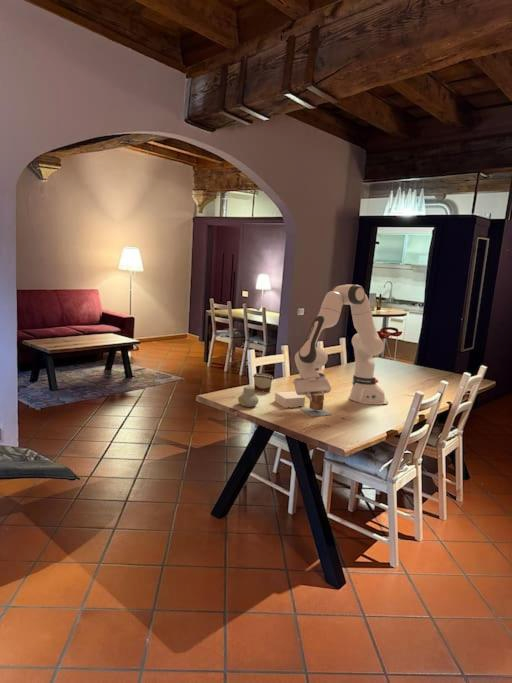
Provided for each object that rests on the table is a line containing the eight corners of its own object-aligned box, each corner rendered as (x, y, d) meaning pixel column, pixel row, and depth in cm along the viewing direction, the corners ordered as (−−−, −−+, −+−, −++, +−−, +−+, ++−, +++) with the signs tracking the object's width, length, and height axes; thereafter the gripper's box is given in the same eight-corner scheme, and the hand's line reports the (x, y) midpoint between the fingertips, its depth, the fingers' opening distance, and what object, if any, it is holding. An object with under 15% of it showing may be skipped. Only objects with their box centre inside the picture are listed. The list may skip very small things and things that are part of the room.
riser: (293, 399, 264) (294, 391, 264) (304, 406, 254) (305, 397, 253) (274, 401, 259) (275, 392, 259) (285, 407, 249) (285, 398, 248)
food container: (274, 391, 280) (276, 374, 279) (271, 393, 275) (273, 377, 273) (255, 387, 284) (256, 372, 283) (252, 390, 278) (253, 374, 277)
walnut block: (317, 406, 248) (318, 392, 246) (322, 409, 243) (324, 395, 242) (309, 407, 245) (310, 392, 244) (314, 410, 241) (315, 395, 240)
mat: (319, 408, 253) (319, 407, 252) (331, 415, 242) (331, 414, 242) (300, 409, 247) (300, 408, 247) (311, 416, 237) (311, 415, 237)
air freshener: (235, 403, 250) (236, 385, 249) (248, 401, 255) (249, 384, 254) (247, 409, 242) (249, 390, 240) (260, 407, 247) (261, 389, 245)
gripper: (294, 375, 243) (302, 399, 236) (327, 374, 252) (336, 396, 245) (290, 381, 248) (297, 404, 241) (322, 379, 257) (330, 402, 250)
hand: (317, 400), depth 243 cm, fingers closed on walnut block, 5 cm apart
